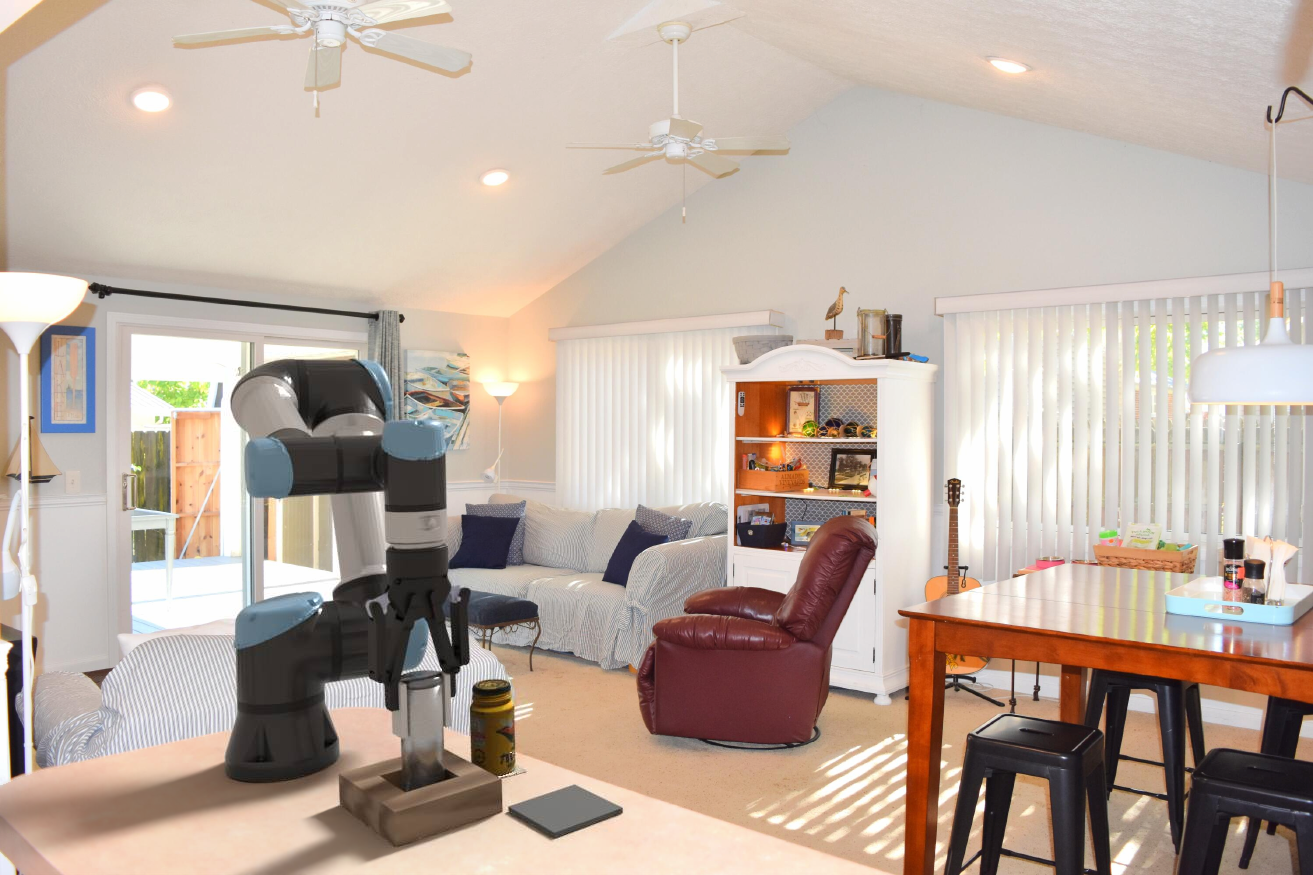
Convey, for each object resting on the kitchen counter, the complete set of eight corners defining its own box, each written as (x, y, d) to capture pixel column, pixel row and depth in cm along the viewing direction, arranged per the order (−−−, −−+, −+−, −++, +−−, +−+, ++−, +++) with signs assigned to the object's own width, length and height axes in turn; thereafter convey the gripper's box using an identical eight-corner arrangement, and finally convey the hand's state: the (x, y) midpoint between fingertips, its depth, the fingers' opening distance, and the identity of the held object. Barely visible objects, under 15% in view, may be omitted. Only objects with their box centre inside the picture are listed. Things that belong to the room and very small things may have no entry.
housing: (339, 804, 120) (338, 773, 120) (440, 775, 129) (439, 745, 129) (395, 846, 108) (394, 811, 107) (502, 810, 117) (501, 778, 117)
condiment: (527, 772, 129) (524, 684, 129) (468, 786, 125) (465, 696, 124) (504, 756, 135) (502, 673, 135) (447, 770, 131) (445, 683, 130)
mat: (508, 811, 117) (508, 806, 117) (574, 788, 123) (574, 784, 123) (554, 837, 109) (554, 832, 109) (622, 812, 116) (622, 807, 116)
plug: (395, 786, 119) (391, 675, 118) (433, 775, 122) (430, 667, 122) (414, 799, 115) (410, 684, 114) (452, 787, 118) (449, 675, 118)
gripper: (358, 555, 109) (364, 755, 110) (496, 538, 121) (501, 719, 121) (333, 548, 115) (338, 739, 115) (467, 533, 126) (471, 706, 127)
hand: (422, 729), depth 118 cm, fingers closed on plug, 5 cm apart
